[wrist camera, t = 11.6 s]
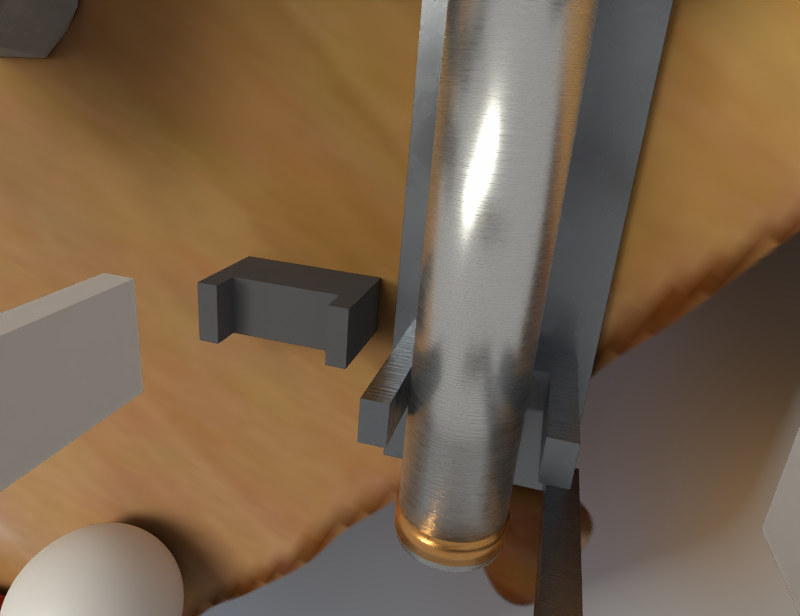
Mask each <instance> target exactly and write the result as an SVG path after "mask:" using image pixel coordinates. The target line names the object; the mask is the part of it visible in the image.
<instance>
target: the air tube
mask: <svg viewBox="0 0 800 616" xmlns="http://www.w3.org/2000/svg"><path fill="white" fill-rule="evenodd" d="M598 5H599V0H448V1H447V11H446V21H445V32H444V42H443V52H442V62H441V73H440V83H439V93H438V103H437V114H436V124H435V134H434V144H433V154H432V165H431V175H430V185H429V195H428V206H427V216H426V226H425V236H424V246H423V257H422V267H421V277H420V287H419V298H418V308H417V318H416V328H415V339H414V349H413V359H412V369H411V379H410V390H409V400H408V410H407V420H406V431H405V441H404V451H403V461H402V472H401V482H400V489H399V491H398V494H397V500H396V511H395V527H396V532H397V537H398V539H399V541H400V543H401V545H402V546H403V548H404V549H405V550H406V551H407V552H408V553H409V554H410V555H411V556H412V557H413V558H415V559H416V560H417V561H419V562H421V563H423V564H425V565H427V566H429V567H432V568H435V569H438V570H442V571H448V572H468V571H474V570H477V569H480V568H482V567H485V566H486V565H488V564H490V563H491V562H492V561H493V560H494V559H495V558H496V557H497V556H498V554H499V552H500V551H501V549H502V547H503V545H504V542H505V539H506V533H507V528H508V522H509V515H510V512H509V504H510V498H511V492H512V487H513V481H514V476H515V470H516V464H517V459H518V453H519V447H520V442H521V436H522V431H523V425H524V419H525V414H526V408H527V403H528V397H529V391H530V386H531V380H532V375H533V369H534V363H535V358H536V352H537V347H538V341H539V335H540V330H541V324H542V319H543V313H544V307H545V302H546V296H547V291H548V285H549V279H550V274H551V268H552V263H553V257H554V251H555V246H556V240H557V235H558V229H559V223H560V218H561V212H562V206H563V201H564V195H565V190H566V184H567V178H568V173H569V167H570V162H571V156H572V150H573V145H574V139H575V134H576V128H577V122H578V117H579V111H580V106H581V100H582V94H583V89H584V83H585V78H586V72H587V66H588V61H589V55H590V50H591V44H592V38H593V33H594V27H595V22H596V16H597V10H598Z"/></svg>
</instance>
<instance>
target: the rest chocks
mask: <svg viewBox="0 0 800 616" xmlns="http://www.w3.org/2000/svg"><path fill="white" fill-rule="evenodd" d="M380 280H381V278H378V277H372V276H366V275H360V274H353V273H347V272H341V271H335V270H329V269H323V268H316V267H310V266H304V265H298V264H292V263H286V262H279V261H273V260H267V259H261V258H255V257H247V258H245V259H243V260H241V261H239V262H237V263H235V264H233V265H231V266H229V267H227V268H225V269H223V270H221V271H219V272H217V273H215V274H213V275H211V276H209V277H207V278H205V279H203V280H201V281H199V282H198V306H199V331H200V340H202V341H207V342H212V343H217V344H218V343H220V342H221V341H223V340H224V339H225V338H227V337H228V336H230V335H231V334H232V333H238V334H244V335H249V336H254V337H259V338H264V339H269V340H275V341H280V342H285V343H290V344H295V345H301V346H306V347H311V348H316V349H321V350H326V362H325V365H328V366H333V367H338V368H343V369H346V368H347V366H348V365H349V364H350V363H351V362H352V360H353V359H354V358H355V357H356V355H357V354H358V353H359V352H360V350H361V349H362V348H363V347H364V346H365V344H366V343H367V342H368V341H369V339H370V338H371V337H372V336H373V334H374V333H375V332H376V331H377V321H378V307H379V294H380Z"/></svg>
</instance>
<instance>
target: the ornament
mask: <svg viewBox="0 0 800 616" xmlns="http://www.w3.org/2000/svg"><path fill="white" fill-rule="evenodd" d="M183 606H184V588H183V581H182V576H181V573H180V570H179V567H178V564H177V562H176V560H175V558H174V557H173V555H172V554H171V552H170V551H169V549H168V548H167V547H166V546H165V545H164V544H163V543H162V542H161V541H160V540H159V539H158V538H156V537H155V536H154V535H152V534H151V533H149V532H147V531H145V530H143V529H141V528H139V527H136V526H133V525H129V524H124V523H114V522H109V523H99V524H93V525H89V526H86V527H82V528H80V529H77V530H74V531H72V532H70V533H68V534H66V535H64V536H62V537H60V538H58V539H57V540H55V541H54V542H52V543H51V544H49V545H48V546H46V547H45V548H44V549H42V550H41V551H40V552H39V553H38V554H36V555H35V556H34V557H33V558H32V559H31V560H30V561H29V562H28V563H27V564H26V566H25V567H24V568H23V569H22V570H21V572H20V573H19V574H18V576H17V577H16V579H15V580H14V582H13V583H12V585H11V587H10V589H9V590H8V592H7V595H6V597H5V599H4V602H3V604H2V608H1V611H0V616H182V612H183Z"/></svg>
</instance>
